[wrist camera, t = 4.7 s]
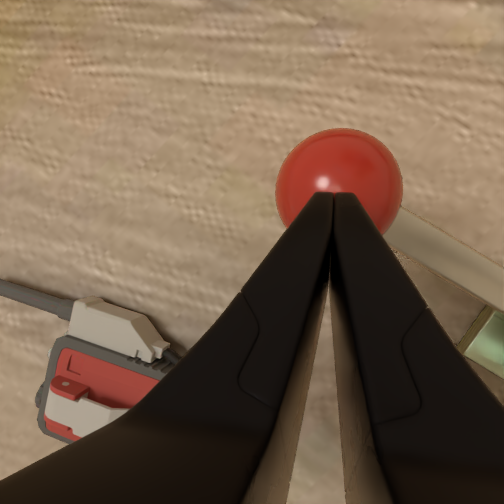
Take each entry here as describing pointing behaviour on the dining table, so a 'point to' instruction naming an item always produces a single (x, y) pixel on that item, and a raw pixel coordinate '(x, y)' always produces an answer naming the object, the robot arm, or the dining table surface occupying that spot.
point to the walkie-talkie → (94, 363)
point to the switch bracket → (486, 341)
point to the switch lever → (382, 207)
